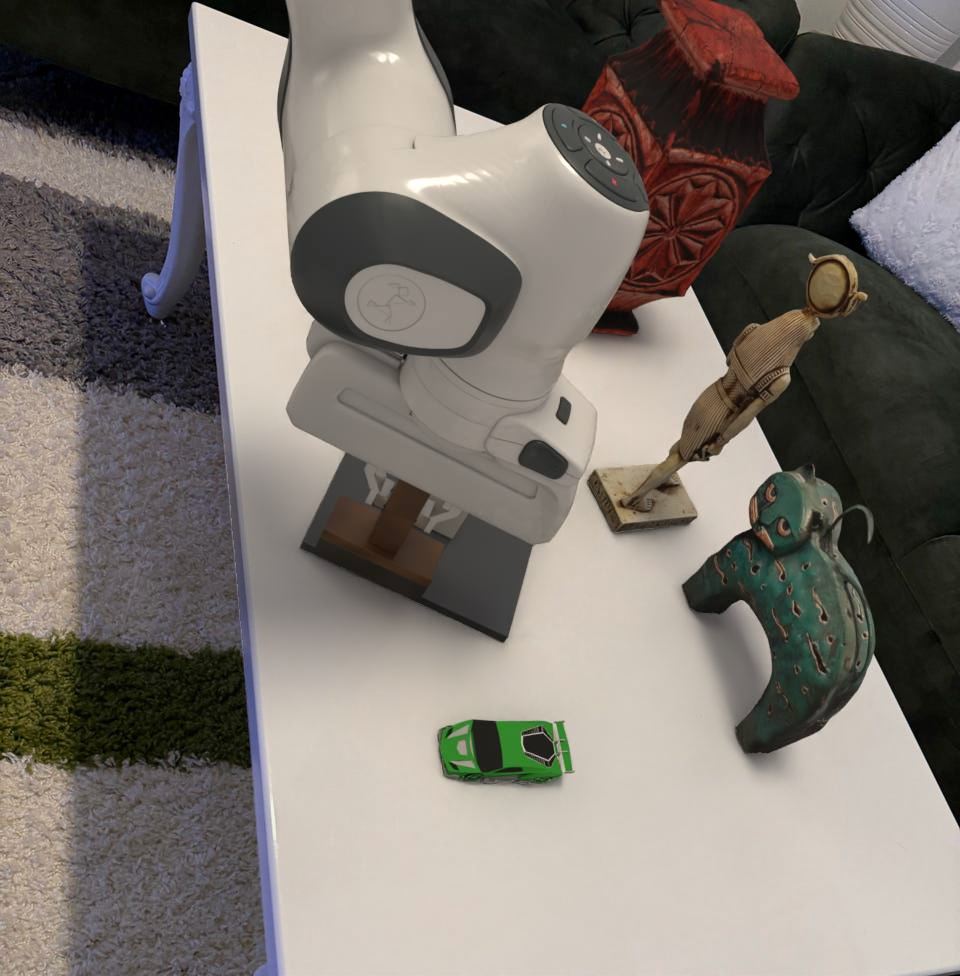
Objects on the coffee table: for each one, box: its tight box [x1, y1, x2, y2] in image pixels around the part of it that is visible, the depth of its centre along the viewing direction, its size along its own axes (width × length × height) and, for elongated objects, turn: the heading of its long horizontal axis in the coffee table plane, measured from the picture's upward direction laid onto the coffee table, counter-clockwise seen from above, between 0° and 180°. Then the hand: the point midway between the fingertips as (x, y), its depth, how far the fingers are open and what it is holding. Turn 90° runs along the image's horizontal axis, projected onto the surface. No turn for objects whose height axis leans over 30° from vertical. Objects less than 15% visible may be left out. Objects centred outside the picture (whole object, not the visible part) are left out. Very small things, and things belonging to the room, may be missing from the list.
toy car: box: [438, 718, 576, 785], centre depth 68 cm, size 10×5×2 cm, turn 99°
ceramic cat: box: [681, 462, 876, 755], centre depth 77 cm, size 20×6×20 cm, turn 12°
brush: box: [314, 478, 445, 601], centre depth 68 cm, size 9×4×11 cm, turn 76°
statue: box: [587, 252, 869, 534], centre depth 79 cm, size 7×10×30 cm
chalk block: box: [428, 495, 468, 539], centre depth 76 cm, size 4×4×4 cm
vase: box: [580, 0, 800, 336], centre depth 93 cm, size 14×14×30 cm
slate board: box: [299, 452, 534, 644], centre depth 77 cm, size 18×16×1 cm
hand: (399, 512), depth 68 cm, fingers closed on brush, 2 cm apart
